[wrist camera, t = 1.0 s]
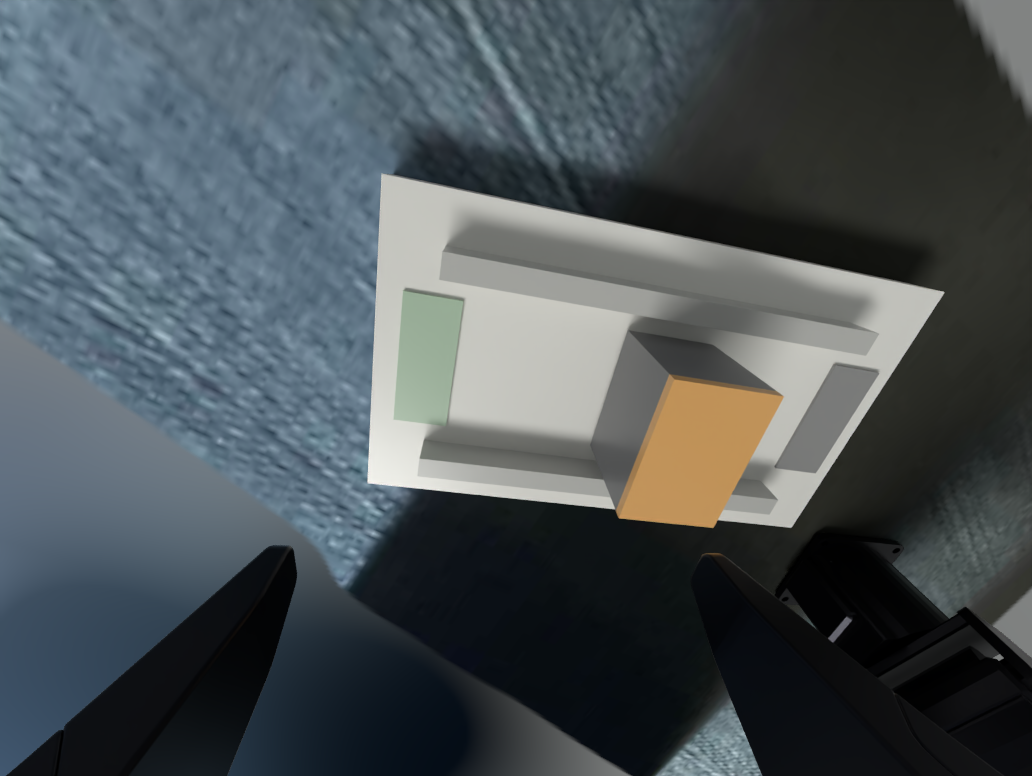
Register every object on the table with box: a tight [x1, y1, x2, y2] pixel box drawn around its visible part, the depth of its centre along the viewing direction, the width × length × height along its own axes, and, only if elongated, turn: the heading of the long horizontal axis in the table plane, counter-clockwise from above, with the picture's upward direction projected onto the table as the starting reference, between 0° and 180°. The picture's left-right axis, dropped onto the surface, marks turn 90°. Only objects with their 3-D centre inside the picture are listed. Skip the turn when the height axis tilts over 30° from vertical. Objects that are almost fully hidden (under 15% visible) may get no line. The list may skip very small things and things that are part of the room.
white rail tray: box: [368, 174, 944, 528], centre depth 20 cm, size 24×14×4 cm, turn 79°
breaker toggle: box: [590, 330, 784, 528], centre depth 17 cm, size 4×6×5 cm, turn 169°
